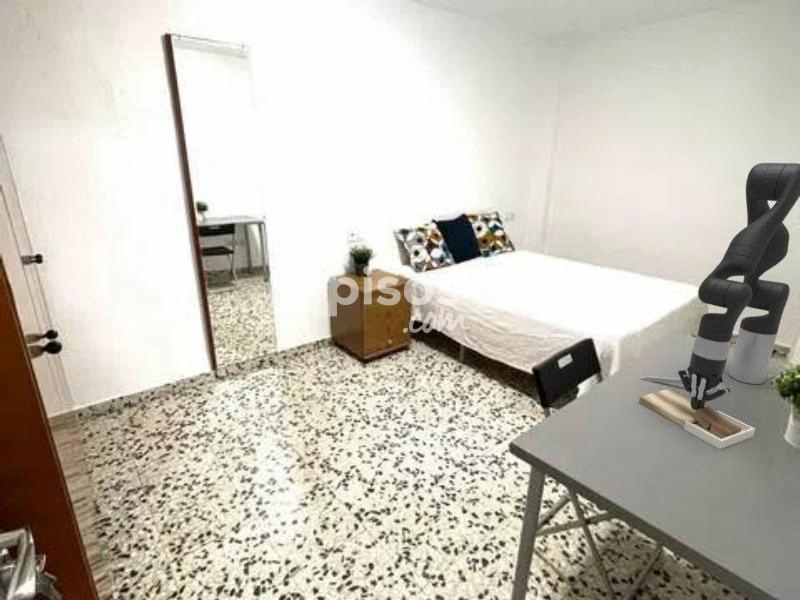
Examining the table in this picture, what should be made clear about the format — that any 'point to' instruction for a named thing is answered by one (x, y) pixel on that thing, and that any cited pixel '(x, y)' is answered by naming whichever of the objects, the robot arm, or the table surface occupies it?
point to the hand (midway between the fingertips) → (696, 409)
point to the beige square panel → (670, 406)
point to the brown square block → (706, 416)
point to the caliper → (666, 380)
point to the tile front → (724, 428)
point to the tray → (716, 441)
